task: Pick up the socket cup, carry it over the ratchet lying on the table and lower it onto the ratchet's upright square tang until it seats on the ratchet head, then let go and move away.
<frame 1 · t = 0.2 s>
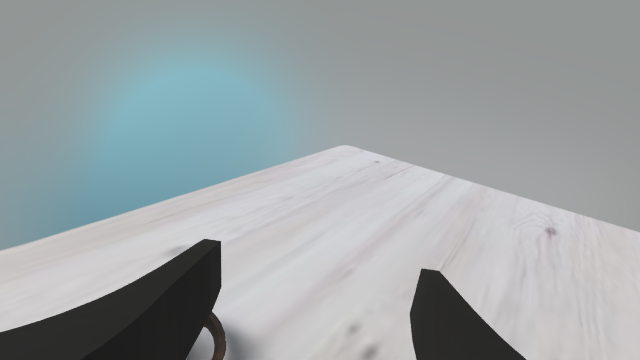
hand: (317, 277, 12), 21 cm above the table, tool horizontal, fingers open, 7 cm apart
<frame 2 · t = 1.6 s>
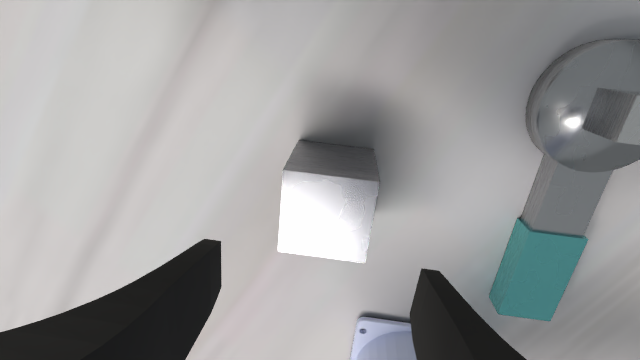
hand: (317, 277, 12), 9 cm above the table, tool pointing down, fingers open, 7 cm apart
socket: (331, 179, 21), on the table
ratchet: (590, 105, 18), on the table
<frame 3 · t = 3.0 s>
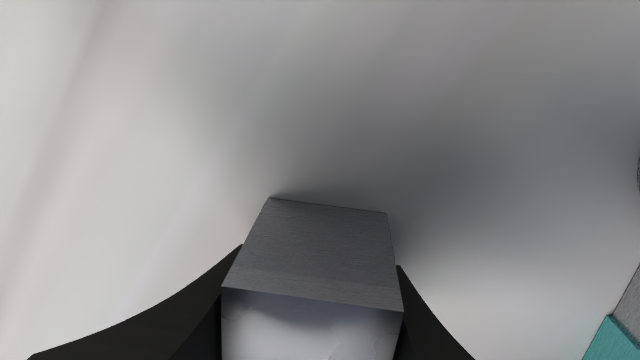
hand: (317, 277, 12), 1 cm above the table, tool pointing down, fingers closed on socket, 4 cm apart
socket: (320, 255, 14), on the table, touching gripper
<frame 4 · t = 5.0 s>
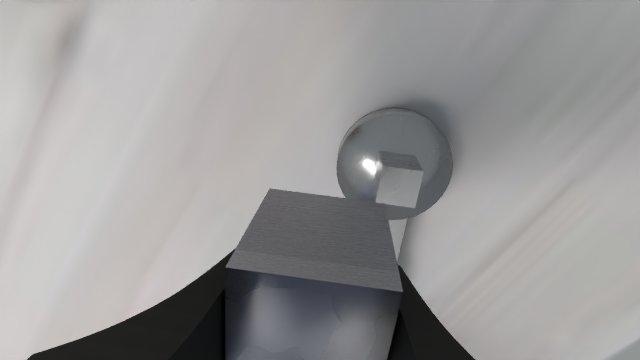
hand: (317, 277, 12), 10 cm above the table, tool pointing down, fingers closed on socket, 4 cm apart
socket: (321, 245, 14), point 8 cm above the table, touching gripper
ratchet: (390, 161, 21), on the table
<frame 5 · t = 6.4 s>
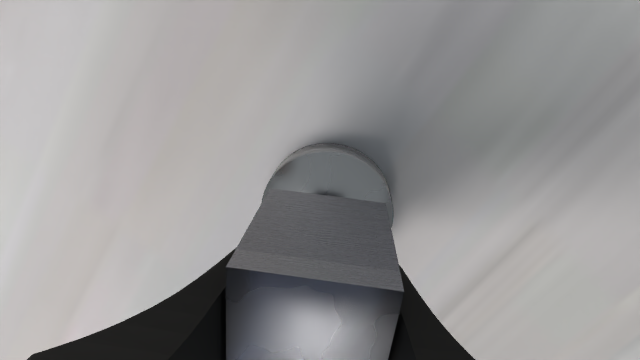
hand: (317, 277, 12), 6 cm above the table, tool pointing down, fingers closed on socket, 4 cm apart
socket: (321, 245, 14), point 5 cm above the table, touching gripper
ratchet: (328, 202, 18), on the table
when the fingers open (4 cm above the table, at t = 7.4 s): socket stays where it is, resting on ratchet.
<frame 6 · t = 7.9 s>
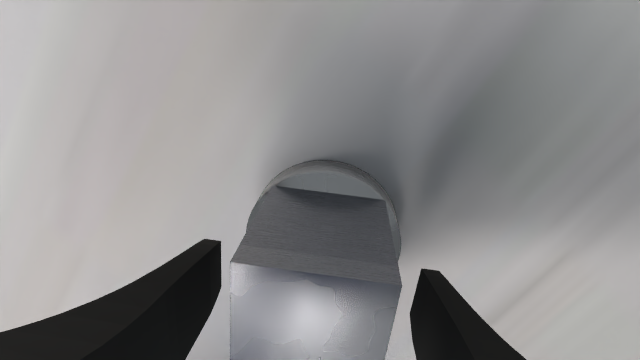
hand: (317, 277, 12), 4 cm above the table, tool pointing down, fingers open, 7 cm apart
socket: (322, 241, 14), point 1 cm above the table, touching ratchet
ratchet: (324, 227, 16), on the table
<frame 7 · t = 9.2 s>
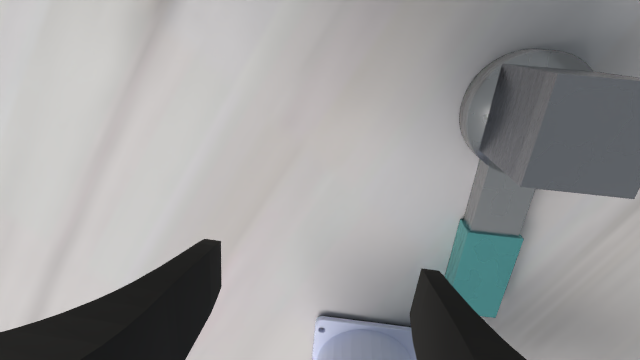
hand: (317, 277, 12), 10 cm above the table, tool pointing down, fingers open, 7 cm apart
socket: (534, 112, 18), point 1 cm above the table, touching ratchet
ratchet: (519, 111, 19), on the table
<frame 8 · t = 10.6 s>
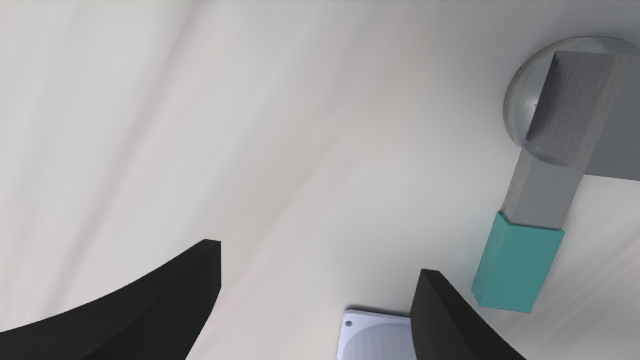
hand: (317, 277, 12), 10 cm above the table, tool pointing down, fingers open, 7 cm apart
socket: (584, 102, 17), point 1 cm above the table, touching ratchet
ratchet: (565, 101, 19), on the table
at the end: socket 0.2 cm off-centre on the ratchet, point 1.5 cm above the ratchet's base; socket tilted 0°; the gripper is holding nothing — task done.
